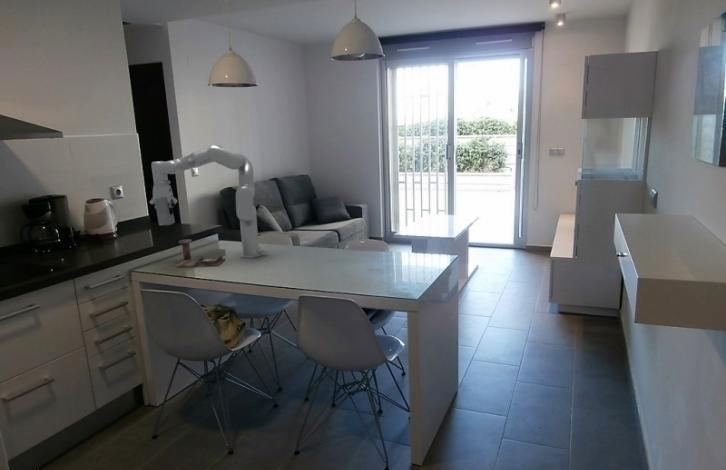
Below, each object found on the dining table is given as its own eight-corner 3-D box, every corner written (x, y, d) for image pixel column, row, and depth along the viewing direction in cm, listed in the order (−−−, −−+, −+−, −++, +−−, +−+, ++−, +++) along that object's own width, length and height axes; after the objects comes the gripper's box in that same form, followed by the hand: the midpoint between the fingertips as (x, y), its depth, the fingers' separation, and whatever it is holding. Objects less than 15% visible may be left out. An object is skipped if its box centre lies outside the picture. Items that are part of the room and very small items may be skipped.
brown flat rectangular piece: (225, 260, 284) (224, 255, 283) (218, 266, 272) (218, 260, 272) (184, 262, 285) (183, 257, 284) (175, 267, 273) (174, 262, 273)
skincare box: (169, 225, 280) (166, 197, 276) (157, 225, 280) (153, 198, 277) (175, 222, 288) (172, 195, 285) (163, 223, 288) (160, 196, 285)
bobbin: (195, 258, 291) (193, 239, 289) (191, 262, 284) (188, 241, 282) (184, 259, 291) (181, 239, 289) (179, 262, 284) (176, 242, 282)
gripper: (178, 182, 282) (182, 213, 286) (149, 183, 283) (153, 214, 287) (173, 183, 275) (177, 215, 279) (142, 184, 276) (147, 216, 279)
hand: (165, 214), depth 283 cm, fingers closed on skincare box, 6 cm apart
